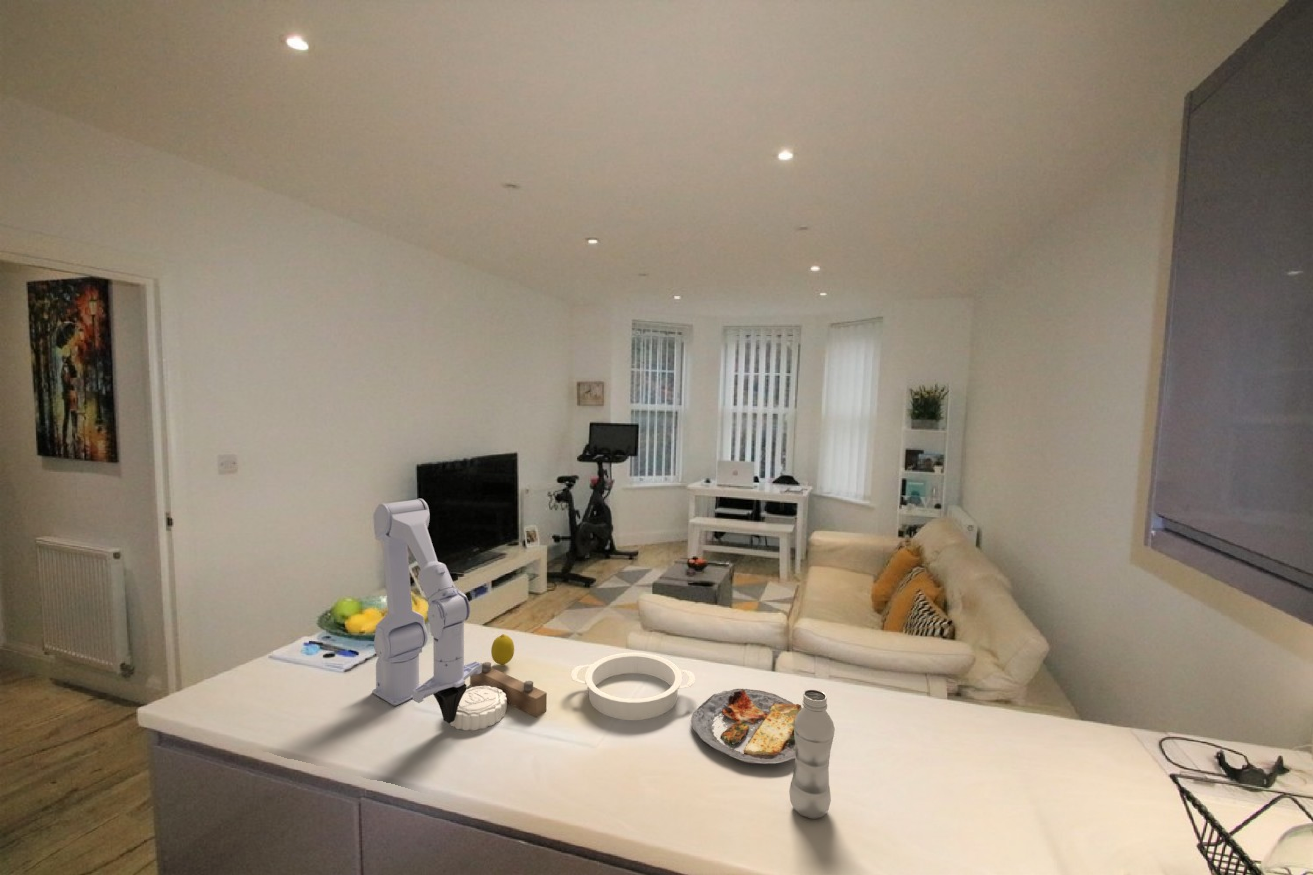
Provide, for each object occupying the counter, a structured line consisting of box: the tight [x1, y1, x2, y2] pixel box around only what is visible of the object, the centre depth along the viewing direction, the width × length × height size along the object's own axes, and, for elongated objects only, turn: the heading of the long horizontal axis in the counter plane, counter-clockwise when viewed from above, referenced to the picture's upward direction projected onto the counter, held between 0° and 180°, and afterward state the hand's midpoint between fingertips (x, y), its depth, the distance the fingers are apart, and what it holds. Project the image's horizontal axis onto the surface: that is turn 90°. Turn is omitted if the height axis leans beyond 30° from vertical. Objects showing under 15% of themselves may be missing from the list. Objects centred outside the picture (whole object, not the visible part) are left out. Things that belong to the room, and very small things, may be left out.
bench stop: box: [469, 661, 548, 718], centre depth 123 cm, size 22×3×6 cm, turn 56°
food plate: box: [690, 688, 803, 765], centre depth 113 cm, size 25×23×4 cm
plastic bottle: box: [788, 688, 836, 820], centre depth 90 cm, size 6×7×20 cm
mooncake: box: [449, 686, 508, 731], centre depth 116 cm, size 12×12×4 cm
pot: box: [570, 652, 696, 721], centre depth 125 cm, size 29×22×5 cm
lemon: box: [490, 634, 515, 667], centre depth 137 cm, size 6×6×8 cm
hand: (449, 720), depth 110 cm, fingers closed
